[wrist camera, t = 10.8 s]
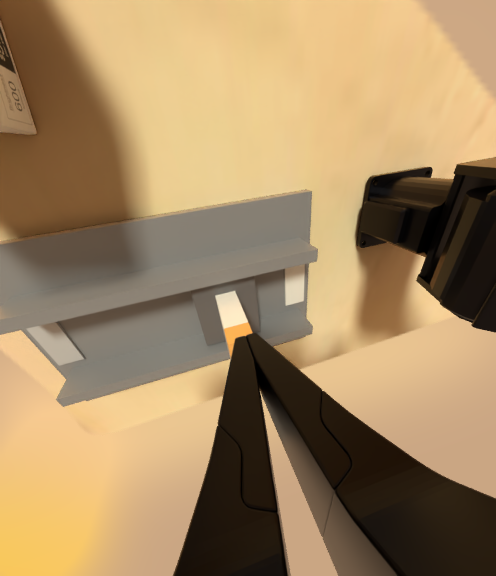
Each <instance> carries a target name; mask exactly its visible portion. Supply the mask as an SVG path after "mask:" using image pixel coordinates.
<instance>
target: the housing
mask: <svg viewBox="0 0 496 576" xmlns="http://www.w3.org/2000/svg"><path fill="white" fill-rule="evenodd" d="M311 200H312V191H309V190H301V191H295V192H289V193H283V194H277V195H272V196H266V197H260V198H254V199H248V200H242V201H236V202H230V203H224V204H218V205H213V206H207V207H201V208H195V209H189V210H183V211H177V212H171V213H165V214H159V215H153V216H148V217H142V218H136V219H130V220H124V221H118V222H112V223H106V224H100V225H94V226H89V227H83V228H77V229H71V230H65V231H59V232H53V233H47V234H41V235H35V236H29V237H24V238H18V239H12V240H6V241H0V335H1V334H6V333H10V332H14V331H19V330H22V331H23V332H24V334H25V335H26V336H27V337H28V338H29V339H30V340H31V341H32V342H33V343H34V345H35V346H36V347H37V348H38V349H39V350H40V351H41V352H42V353H43V354H44V356H45V357H46V358H47V359H48V360H49V361H50V362H51V363H52V364H53V365H54V366H55V368H56V369H57V370H58V371H59V372H60V373H61V374H62V375H63V376H64V377H65V379H66V381H65V383H64V385H63V387H62V389H61V391H60V393H59V395H58V397H57V399H56V400H57V401H58V402H59V403H60V404H61V405H62V406H63V407H64V406H68V405H71V404H74V403H78V402H81V401H85V400H86V401H88V400H92V399H95V398H99V397H102V396H105V395H109V394H112V393H116V392H119V391H122V390H126V389H129V388H133V387H136V386H139V385H143V384H146V383H150V382H153V381H156V380H160V379H163V378H167V377H170V376H173V375H177V374H180V373H184V372H187V371H190V370H194V369H197V368H201V367H204V366H207V365H211V364H214V363H218V362H221V361H224V360H228V359H230V355H229V351H228V347H227V343H226V341H224V342H220V343H216V344H213V345H209V346H207V344H206V341H205V337H204V334H203V331H202V328H201V324H200V321H199V318H198V314H197V311H196V308H195V304H194V301H193V298H192V295H191V290H195V289H199V288H204V287H208V286H212V285H217V284H221V283H225V282H230V281H234V280H238V279H242V278H247V277H251V276H254V278H255V287H256V297H257V306H258V315H259V324H260V331H259V332H256V333H257V334H258V335H259V336H261V337H262V338H263V339H264V340H265V341H266V342H268V343H269V344H270V345H271V346H275V345H279V344H282V343H286V342H289V341H292V340H296V339H299V338H303V337H305V336H306V335H310V334H312V328H313V326H312V325H311V323H310V322H309V321H308V320H307V318H306V312H307V290H308V267H309V263H311V262H316V261H317V254H318V249H317V248H315V247H314V246H312V245H310V222H311Z"/></svg>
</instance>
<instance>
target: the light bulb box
mask: <svg viewBox="0 0 496 576" xmlns="http://www.w3.org/2000/svg"><path fill="white" fill-rule="evenodd" d="M0 132H4V133H15V134H26V135H35V134H36V133H37V132H36V128H35V125H34V122H33V119H32V116H31V113H30V110H29V106H28V103H27V100H26V97H25V94H24V91H23V88H22V85H21V82H20V79H19V76H18V73H17V69H16V66H15V63H14V60H13V57H12V54H11V51H10V48H9V45H8V42H7V39H6V36H5V33H4V29H3V26H2V23H1V20H0Z"/></svg>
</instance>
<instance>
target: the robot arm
mask: <svg viewBox="0 0 496 576" xmlns="http://www.w3.org/2000/svg"><path fill="white" fill-rule="evenodd" d="M454 174H455V176H454V179H441V178H431V175H432V168H431V167H422V168H416V169H410V170H404V171H398V172H392V173H386V174H380V175H374V176H371V177H370V178H369V179H368V181H367V186H366V192H365V198H364V203H363V209H362V215H361V221H360V227H359V233H358V239H357V246H359V247H361V248H365V247H369V246H373V245H378V244H382V243H386V242H388V243H390V244H393V245H396V246H398V247H401V248H403V249H406V250H408V251H411V252H413V253H416V254H419V255H421V256H424V257H426V258H425V261H424V264H423V267H422V269H421V272H420V274H418V277H417V280H416V281H417V282H418V283H419V284H420V285H421V286H423V287H424V288H425V289H426V290H427V291H428V292H429V293H430V294H431V295H433V296H434V297H435V298H436V299H437V300H438V301H439V302H440V304H441V305H442V306H443V307H444V308H446V309H447V310H449V311H450V312H452V313H453V314H454V315H456V316H458V317H459V318H461V319H464V320H466V321H469V322H471V323H472V326H473V327H475V328H478V329H482V330H487V331H491V332H496V157H494V158H488V159H483V160H477V161H472V162H466V163H461V164H457V166H456V168H455V171H454ZM373 181H374V184H373ZM362 242H363V243H362ZM259 388H260V389H259ZM260 391H261V394H262V397H263V399H264V401H265V404H266V406H267V408H268V411H269V413H270V415H271V418H272V420H273V422H274V424H275V427H276V430H277V432H278V434H279V437H280V439H281V441H282V444H283V446H284V448H285V451H286V453H287V455H288V458H289V460H290V463H291V465H292V467H293V469H294V472H295V474H296V477H297V479H298V481H299V484H300V486H301V488H302V491H303V493H304V495H305V498H306V500H307V503H308V505H309V507H310V510H311V512H312V514H313V517H314V519H315V521H316V523H317V526H318V528H319V531H320V533H321V536H322V537H323V540H324V543H325V545H326V547H327V550H328V552H329V554H330V557H331V559H332V561H333V564H334V566H335V569H336V571H337V573H338V576H496V498H493V497H491V496H489V495H486V494H484V493H481V492H479V491H476V490H474V489H472V488H469V487H467V486H464V485H462V484H459V483H457V482H455V481H452V480H450V479H448V478H446V477H444V476H442V475H440V474H438V473H437V472H435V471H433V470H431V469H430V468H428V467H426V466H425V465H423V464H422V463H420V462H419V461H417V460H416V459H414V458H413V457H411V456H410V455H409V454H407V453H405V452H404V451H403V450H402V449H400V448H399V447H397V446H396V445H394V444H393V443H392V442H390V441H389V440H387V439H386V438H385V437H383V436H382V435H380V434H379V433H377V432H376V431H375V430H373V429H371V428H370V427H369V426H368V425H366V424H365V423H363V422H362V421H361V420H359V419H358V418H357V417H355V416H354V415H353V414H351V413H350V412H348V411H347V410H346V409H345V408H344V407H342V406H341V405H340V404H339V403H337V402H336V401H335V400H334V399H333V398H331V397H330V396H329V395H328V394H327V393H326V392H324V391H322V389H321V388H320V387H319V386H317V385H316V384H315V383H314V382H313V381H312V380H310V379H309V378H308V377H307V376H306V375H305V374H303V373H302V372H301V371H300V370H299V369H298V368H297V367H295V366H294V365H293V364H292V363H291V362H290V361H288V360H287V359H286V358H285V357H284V356H283V355H281V354H280V353H279V352H278V351H277V350H276V349H274V348H273V347H272V346H271V345H270V344H269V343H268V342H266V341H265V340H264V339H263V338H262V337H261V336H259V335H258V334H257V333H251V334H248V335H246V336H240V337H237V338H235V341H234V346H233V351H232V356H231V361H230V366H229V371H228V376H227V380H226V385H225V390H224V395H223V400H222V405H221V410H220V415H219V420H218V426H217V429H216V434H215V438H214V443H213V447H212V452H211V456H210V460H209V463H208V467H207V471H206V474H205V478H204V481H203V484H202V487H201V491H200V494H199V497H198V500H197V503H196V506H195V510H194V513H193V516H192V519H191V522H190V526H189V529H188V532H187V535H186V538H185V542H184V545H183V548H182V551H181V554H180V557H179V560H178V563H177V566H176V569H175V572H174V574H173V576H291V575H290V569H289V563H288V557H287V552H286V545H285V539H284V533H283V527H282V521H281V515H280V509H279V503H278V496H277V490H276V484H275V478H274V473H273V466H272V460H271V454H270V448H269V442H268V436H267V430H266V425H265V418H264V412H263V407H262V400H261V395H260Z"/></svg>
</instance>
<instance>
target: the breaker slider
mask: <svg viewBox="0 0 496 576" xmlns="http://www.w3.org/2000/svg"><path fill="white" fill-rule="evenodd" d="M191 295H192V298H193V301H194V304H195V308H196V311H197V314H198V318H199V321H200V324H201V328H202V331H203V334H204V337H205V341H206V344H207V346H209V345H213V344H216V343H220V342H224V341H226V343H227V347H228V351H229V355H230V359H231V356H232V351H233V346H234V341H235V338H237V337H240V336H246V335H248V334H251V333H256V332H259V331H260V324H259V315H258V306H257V297H256V287H255V278H254V276H251V277H247V278H242V279H238V280H234V281H230V282H225V283H221V284H217V285H212V286H208V287H204V288H199V289H195V290H191Z"/></svg>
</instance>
